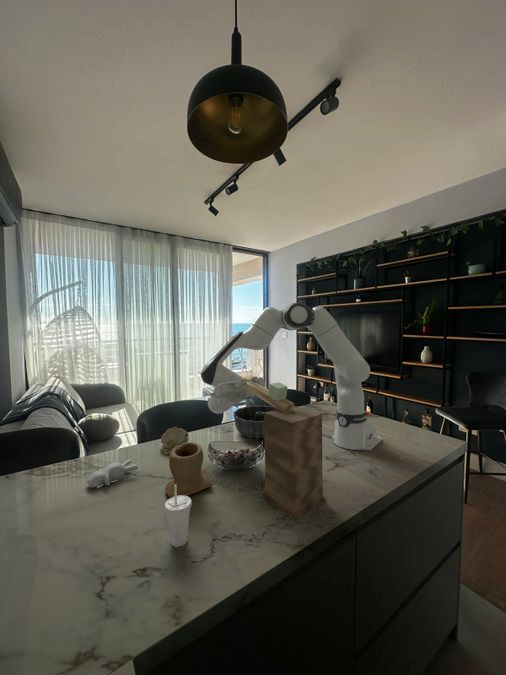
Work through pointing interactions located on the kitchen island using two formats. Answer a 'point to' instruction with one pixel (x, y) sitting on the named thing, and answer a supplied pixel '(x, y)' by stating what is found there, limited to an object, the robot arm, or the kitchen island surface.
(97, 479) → the bunny figurine
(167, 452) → the ceramic model
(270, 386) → the sage cube
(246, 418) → the bundt pan
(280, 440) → the walnut block
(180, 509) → the smoothie
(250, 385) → the oak slat
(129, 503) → the kitchen island surface
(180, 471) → the stone cup
